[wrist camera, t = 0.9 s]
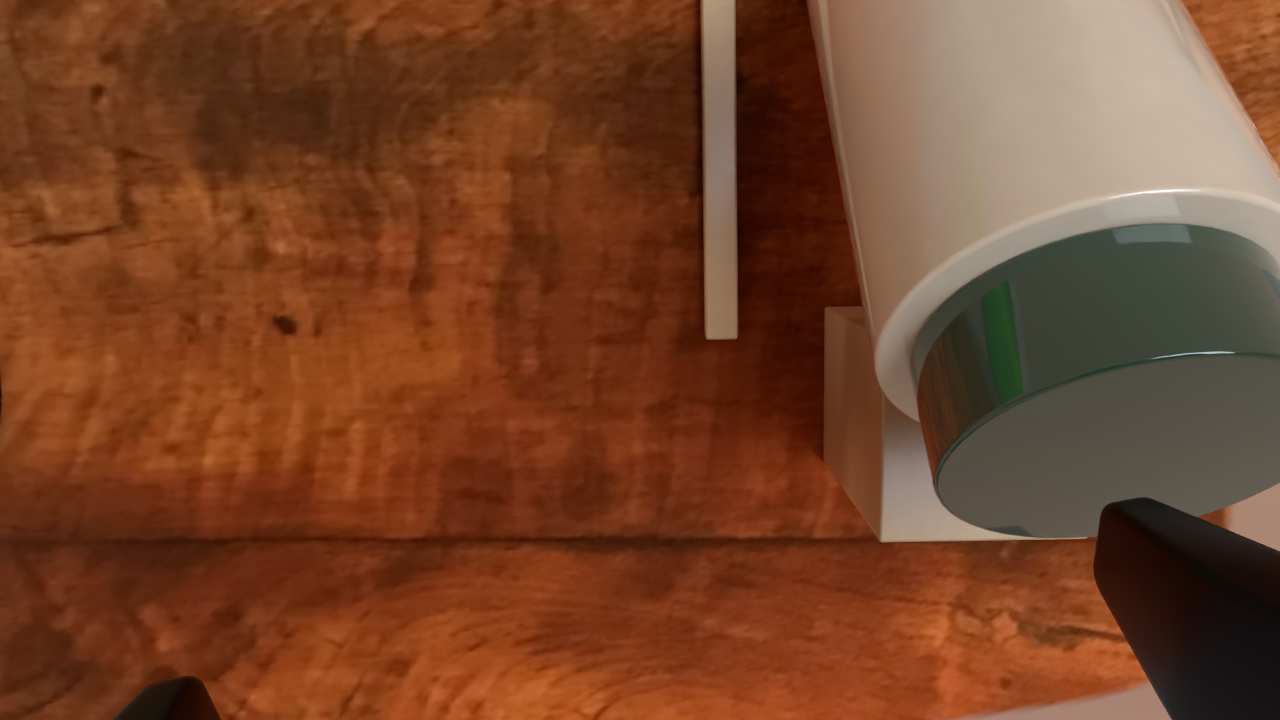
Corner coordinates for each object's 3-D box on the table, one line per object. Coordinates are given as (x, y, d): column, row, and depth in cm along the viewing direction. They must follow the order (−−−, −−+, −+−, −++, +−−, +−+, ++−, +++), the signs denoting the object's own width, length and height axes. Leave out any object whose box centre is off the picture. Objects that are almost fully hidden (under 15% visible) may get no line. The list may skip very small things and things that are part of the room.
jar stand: (1097, 456, 24) (1247, 537, 18) (706, 464, 24) (723, 546, 18) (1126, -79, 22) (1305, -191, 16) (699, -66, 22) (716, -172, 16)
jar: (1018, 399, 24) (1453, 644, 11) (782, 404, 24) (935, 651, 11) (1045, -152, 21) (1641, -677, 8) (784, -144, 21) (981, -651, 9)
